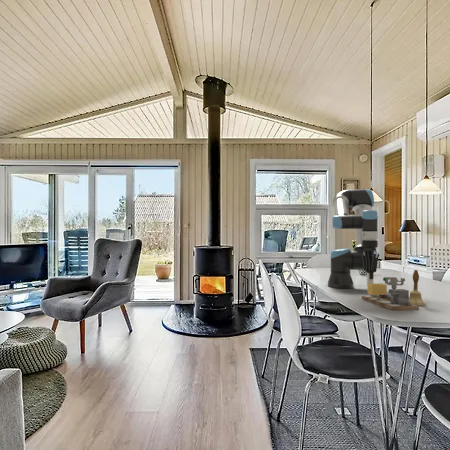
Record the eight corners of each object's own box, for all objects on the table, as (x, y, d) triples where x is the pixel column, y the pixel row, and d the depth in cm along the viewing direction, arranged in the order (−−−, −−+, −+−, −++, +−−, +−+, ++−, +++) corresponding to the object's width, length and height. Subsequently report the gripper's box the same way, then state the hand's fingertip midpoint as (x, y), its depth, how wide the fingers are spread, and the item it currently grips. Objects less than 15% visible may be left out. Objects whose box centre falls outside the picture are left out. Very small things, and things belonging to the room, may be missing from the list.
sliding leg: (367, 295, 165) (367, 283, 165) (382, 294, 166) (382, 283, 166) (371, 296, 161) (371, 284, 161) (386, 296, 162) (386, 284, 162)
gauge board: (361, 298, 167) (361, 283, 167) (385, 298, 168) (385, 282, 168) (391, 310, 143) (391, 291, 143) (418, 309, 144) (418, 291, 145)
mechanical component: (405, 297, 170) (405, 278, 170) (384, 296, 172) (384, 277, 172) (403, 296, 173) (403, 277, 173) (382, 295, 175) (382, 276, 175)
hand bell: (419, 301, 160) (419, 269, 160) (429, 305, 152) (429, 271, 152) (402, 301, 160) (402, 269, 161) (411, 305, 152) (411, 271, 152)
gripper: (356, 239, 177) (356, 283, 176) (370, 240, 164) (370, 287, 163) (369, 239, 178) (369, 283, 177) (384, 240, 165) (384, 287, 164)
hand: (370, 285), depth 170 cm, fingers closed
